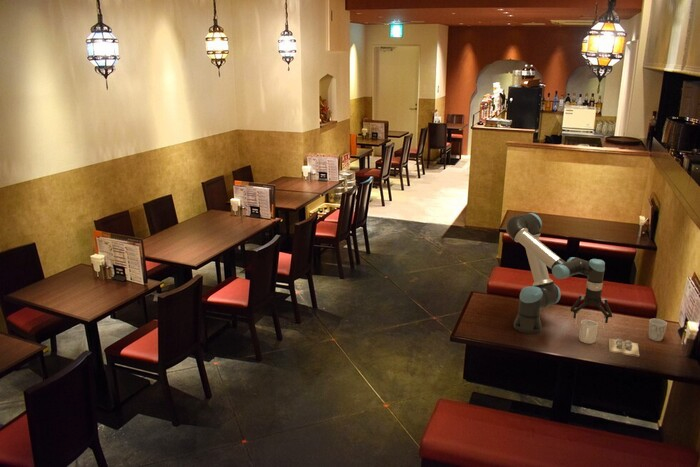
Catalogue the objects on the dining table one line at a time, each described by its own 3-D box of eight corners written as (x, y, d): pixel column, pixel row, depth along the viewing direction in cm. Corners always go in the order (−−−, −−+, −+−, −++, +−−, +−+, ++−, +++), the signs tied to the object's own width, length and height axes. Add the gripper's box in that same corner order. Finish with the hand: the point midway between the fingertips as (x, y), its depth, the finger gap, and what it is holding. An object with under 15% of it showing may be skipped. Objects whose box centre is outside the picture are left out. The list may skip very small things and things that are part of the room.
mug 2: (651, 331, 312) (654, 315, 309) (668, 336, 306) (671, 320, 304) (644, 338, 305) (647, 321, 302) (661, 343, 299) (664, 326, 296)
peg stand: (609, 351, 290) (609, 345, 289) (608, 340, 302) (609, 334, 301) (639, 357, 285) (640, 350, 284) (637, 345, 297) (638, 339, 296)
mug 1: (593, 348, 293) (596, 330, 290) (576, 344, 297) (579, 326, 294) (596, 339, 303) (598, 321, 300) (579, 335, 307) (582, 318, 304)
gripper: (568, 287, 293) (564, 324, 299) (620, 294, 283) (615, 332, 289) (568, 283, 299) (564, 319, 305) (620, 289, 290) (615, 327, 296)
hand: (589, 326), depth 297 cm, fingers open, 13 cm apart
